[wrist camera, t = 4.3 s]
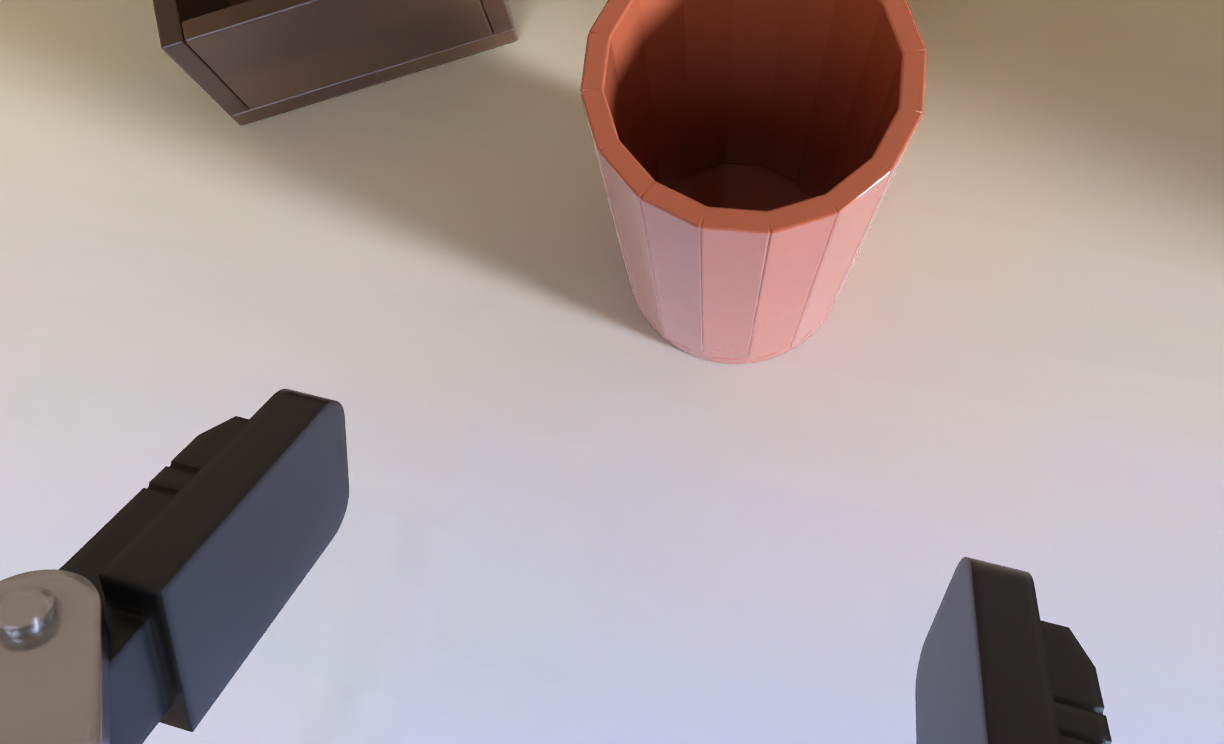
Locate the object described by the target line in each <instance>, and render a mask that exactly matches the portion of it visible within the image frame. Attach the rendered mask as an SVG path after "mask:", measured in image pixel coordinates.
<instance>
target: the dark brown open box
mask: <svg viewBox="0 0 1224 744" xmlns="http://www.w3.org/2000/svg"><path fill="white" fill-rule="evenodd" d="M153 4H154V9H155V15H156V20H157V26H158V31H159V37H160V42H161V47H162V49H163V50H164V51H165V52H166V53H167V54H168V55H169V56H170V57H171V58H172V59H173V60H174V61H175V62H176V63H177V64H178V65H179V66H180V67H181V68H182V69H183V70H184V71H185V72H186V73H187V74H188V75H189V76H190V77H191V78H192V79H193V80H194V81H195V82H196V83H198V84H199V85H200V86H201V87H202V88H203V89H204V90H205V91H206V92H207V93H208V94H209V95H210V96H211V97H212V98H213V99H214V100H215V101H216V102H217V103H218V104H219V105H220V106H221V107H222V108H223V109H224V110H225V111H226V112H227V113H228V114H229V115H231V117H232V118H233V119H234V120H235V121H236V122H237V123H238V124H239V125H245V124H248V123H251V122H254V121H258V120H261V119H264V118H267V117H271V116H274V115H277V114H280V113H284V112H287V111H290V110H293V109H297V108H300V107H303V106H306V105H310V104H313V103H316V102H319V101H323V100H326V99H329V98H332V97H336V96H339V95H342V94H345V93H349V92H352V91H355V90H358V89H362V88H365V87H368V86H371V85H375V84H378V83H381V82H384V81H388V80H391V79H394V78H397V77H401V76H404V75H407V74H410V73H414V72H417V71H420V70H423V69H427V68H430V67H433V66H436V65H440V64H443V63H446V62H449V61H453V60H456V59H459V58H462V57H466V56H469V55H472V54H475V53H479V52H482V51H485V50H488V49H492V48H495V47H498V46H501V45H505V44H508V43H511V42H514V41H517V39H518V37H517V33H516V30H515V26H514V23H513V19H512V16H511V12H510V9H509V5H508V2H507V0H153Z"/></svg>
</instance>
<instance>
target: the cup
mask: <svg viewBox="0 0 1224 744" xmlns="http://www.w3.org/2000/svg"><path fill="white" fill-rule="evenodd" d="M926 60H927V54H926V48H925V46H924V43H923V41H922V38H921V36H920V33H919V31H918V28H917V26H916V23H915V21H914V18H913V16H912V13H911V11H910V8H909V6H908V3H907V1H906V0H608V1H607V3H606V5H605V6H604V8H603V10H602V11H601V13H600V15H599V16H598V18H597V19H596V21H595V23H594V24H593V26H592V28H591V29H590V33H589V34H588V39H587V46H586V53H585V60H584V68H583V75H582V82H581V89H580V91H581V98H582V102H583V106H584V110H585V114H586V118H587V121H588V125H589V129H590V133H591V137H592V141H593V145H594V148H595V152H596V156H597V160H598V164H599V168H600V172H601V175H602V179H603V183H604V187H605V191H606V195H607V199H608V202H609V206H610V210H611V214H612V218H613V222H614V226H615V230H616V233H617V237H618V241H619V245H620V249H621V253H622V257H623V260H624V264H625V268H626V271H627V274H628V278H629V281H630V285H631V289H632V292H633V295H634V298H635V301H636V302H637V305H638V306H639V308H640V310H641V312H642V313H643V315H644V316H645V318H646V319H647V321H648V322H649V323H650V325H651V326H652V327H653V328H654V329H655V330H656V331H657V332H658V333H659V334H660V335H661V336H662V337H663V338H665V339H666V340H667V341H668V342H670V343H671V344H672V345H674V346H676V347H677V348H679V349H681V350H682V351H684V352H686V353H689V354H691V355H693V356H695V357H698V358H702V359H705V360H708V361H713V362H719V363H729V364H743V363H753V362H758V361H762V360H767V359H770V358H773V357H775V356H778V355H781V354H783V353H785V352H787V351H789V350H791V349H793V348H794V347H796V346H797V345H799V344H800V343H802V342H803V341H804V340H806V339H807V338H808V337H809V336H810V335H811V334H812V333H814V332H815V331H816V330H817V329H818V327H819V326H820V325H821V324H822V323H823V322H824V320H825V319H826V318H827V316H828V314H829V313H830V311H831V309H832V308H833V306H834V304H835V301H836V299H837V298H838V296H839V294H840V292H841V290H842V288H843V286H844V284H845V282H846V280H847V278H848V276H849V274H850V272H851V269H852V267H853V265H854V263H855V261H856V259H857V256H858V254H859V252H860V250H861V248H862V246H863V243H864V241H865V239H866V237H867V235H868V233H869V230H870V228H871V226H872V224H873V222H874V220H875V217H876V215H877V213H878V211H879V209H880V207H881V204H882V202H883V200H884V198H885V196H886V194H887V191H888V189H889V187H890V185H891V183H892V181H893V178H894V176H895V174H896V172H897V170H898V168H899V165H900V163H901V161H902V159H903V157H904V155H905V153H906V150H907V148H908V146H909V144H910V142H911V140H912V137H913V135H914V133H915V131H916V129H917V127H918V124H919V122H920V120H921V118H922V114H923V111H924V94H925V77H926Z"/></svg>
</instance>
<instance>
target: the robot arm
mask: <svg viewBox="0 0 1224 744" xmlns="http://www.w3.org/2000/svg"><path fill="white" fill-rule="evenodd" d="M348 498H349V479H348V463H347V447H346V431H345V416H344V410H343V407H342V405H341V404H340V403H339V402H337V401H334V400H330V399H326V398H322V397H318V396H314V395H310V394H306V393H302V392H297V391H293V390H289V389H282V390H280V391H278V392H276V393H275V394H274V395H273V396H272V397H271V398H270V399H269V400H268V401H267V402H266V403H265V404H264V405H263V406H262V407H261V408H260V409H259V410H258V411H257V412H256V413H255V414H254V415H253V416H252V417H251V418H250V419H245V418H241V417H237V416H235V417H233V418H231V419H229V420H227V421H226V422H224V423H222V424H220V425H218V426H216V427H214V428H212V429H210V430H208V431H206V432H204V433H202V434H200V435H198V436H197V437H196V438H195V439H194V440H193V441H192V442H191V443H190V444H189V445H188V446H187V447H186V448H185V449H183V450H182V451H181V452H180V453H179V454H178V455H177V456H176V457H175V458H174V459H173V460H172V461H171V465H170V467H167V466H166V467H165V468H164V469H163V470H162V471H161V472H160V473H159V474H158V475H157V476H156V477H155V478H154V479H152V480H151V481H150V482H149V487H148V488H147V489H146V488H143V489H142V490H141V491H140V492H139V493H138V494H137V495H136V496H135V497H134V498H133V499H132V500H131V501H130V502H129V503H128V504H127V505H126V506H125V507H124V508H122V509H121V510H120V511H119V512H118V513H117V514H116V515H115V516H114V517H113V518H112V519H111V520H110V521H109V522H108V523H107V524H106V525H105V526H104V527H103V528H102V529H101V530H100V531H99V532H98V533H97V534H96V535H95V536H94V537H92V538H91V539H90V540H89V541H88V542H87V543H86V544H85V545H84V546H83V547H82V548H81V549H80V550H79V551H78V552H77V553H76V554H75V555H74V556H73V557H72V558H71V559H70V560H69V561H68V562H67V563H66V564H65V565H63V566H62V567H61V568H60V569H59V570H38V571H31V572H26V573H22V574H18V575H15V576H12V577H9V578H6V579H4V580H2V581H0V744H142V743H143V742H144V741H145V739H146V738H147V737H148V735H149V734H150V733H151V732H152V730H153V729H154V728H155V726H156V725H157V724H158V722H161V723H164V724H168V725H171V726H174V727H177V728H181V729H184V730H187V731H190V732H193V731H194V729H195V728H196V727H197V725H198V724H199V723H200V721H201V720H202V718H203V717H204V716H205V714H206V713H207V712H208V710H209V709H210V707H211V706H212V705H213V703H214V702H215V700H216V699H217V698H218V696H219V695H220V694H221V692H222V691H223V689H224V688H225V687H226V685H227V684H228V683H229V681H230V680H231V678H232V677H233V676H234V674H235V673H236V671H237V670H238V669H239V667H240V666H241V665H242V663H243V662H244V660H245V659H246V658H247V656H248V655H249V653H250V652H251V651H252V649H253V648H254V647H255V645H256V644H257V642H258V641H259V640H260V638H261V637H262V636H263V634H264V633H265V631H266V630H267V629H268V627H269V626H270V624H271V623H272V622H273V620H274V619H275V618H276V616H277V615H278V613H279V612H280V611H281V609H282V608H283V607H284V605H285V604H286V602H287V601H288V600H289V598H290V597H291V595H292V594H293V593H294V591H295V590H296V589H297V587H298V586H299V584H300V583H301V582H302V580H303V579H304V578H305V576H306V575H307V573H308V572H309V571H310V569H311V568H312V566H313V565H314V564H315V562H316V561H317V560H318V558H319V557H320V555H321V554H322V553H323V551H324V550H325V548H326V547H327V546H328V544H329V543H330V542H331V540H332V539H333V537H334V536H335V534H336V533H337V531H338V529H339V527H340V525H341V523H342V520H343V518H344V515H345V512H346V508H347V504H348ZM1103 709H1104V705H1103V700H1102V696H1101V691H1100V686H1099V682H1098V677H1097V673H1096V668H1095V666H1094V665H1093V663H1092V662H1091V660H1090V659H1089V657H1088V656H1087V654H1086V653H1085V651H1084V650H1083V648H1082V647H1081V645H1080V644H1079V642H1078V641H1077V639H1076V638H1075V636H1074V635H1073V633H1072V632H1071V630H1070V629H1069V628H1068V627H1064V626H1060V625H1056V624H1052V623H1048V622H1044V621H1040V616H1039V610H1038V604H1037V598H1036V593H1035V587H1034V582H1033V578H1032V576H1031V575H1030V573H1028V572H1025V571H1021V570H1017V569H1013V568H1009V567H1005V566H1000V565H996V564H992V563H988V562H984V561H980V560H976V559H972V558H968V557H964V558H963V559H962V560H961V561H960V562H959V564H958V566H957V568H956V570H955V572H954V574H953V577H952V579H951V581H950V584H949V586H948V588H947V591H946V593H945V595H944V598H943V600H942V602H941V605H940V607H939V609H938V611H937V614H936V616H935V618H934V621H933V623H932V625H931V628H930V630H929V632H928V635H927V637H926V639H925V642H924V645H923V648H922V652H921V655H920V660H919V665H918V670H917V678H916V737H917V744H1111V736H1110V732H1109V727H1108V723H1107V718H1106V716H1105V715H1103Z"/></svg>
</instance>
